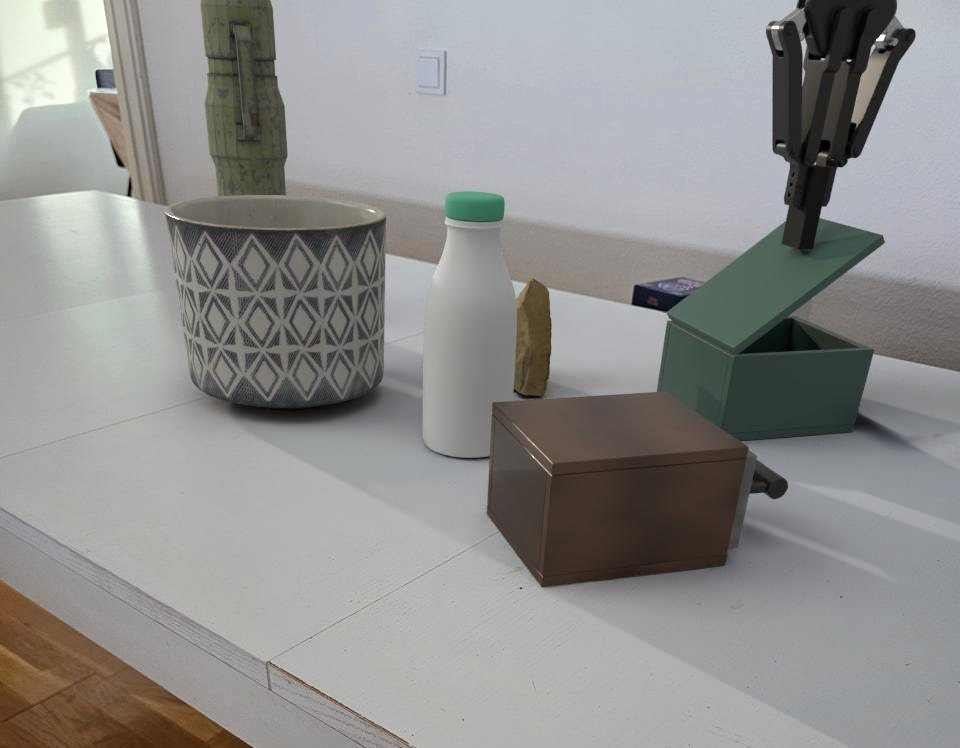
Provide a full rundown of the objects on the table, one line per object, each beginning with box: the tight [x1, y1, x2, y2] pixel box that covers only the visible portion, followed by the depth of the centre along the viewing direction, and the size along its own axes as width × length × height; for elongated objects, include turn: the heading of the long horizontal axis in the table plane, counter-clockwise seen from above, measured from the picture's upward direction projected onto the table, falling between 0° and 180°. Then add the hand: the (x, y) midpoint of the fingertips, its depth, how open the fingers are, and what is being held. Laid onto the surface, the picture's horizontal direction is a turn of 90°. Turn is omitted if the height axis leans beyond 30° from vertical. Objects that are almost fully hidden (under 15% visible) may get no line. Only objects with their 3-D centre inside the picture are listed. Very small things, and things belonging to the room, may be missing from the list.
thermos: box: [199, 0, 289, 197], centre depth 108 cm, size 9×12×35 cm
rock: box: [514, 278, 553, 397], centre depth 95 cm, size 11×9×10 cm
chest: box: [656, 315, 875, 442], centre depth 90 cm, size 15×13×8 cm
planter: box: [164, 194, 387, 410], centre depth 87 cm, size 19×19×16 cm
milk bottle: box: [422, 190, 517, 459], centre depth 76 cm, size 8×8×20 cm
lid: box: [666, 217, 886, 355], centre depth 85 cm, size 15×13×1 cm
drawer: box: [728, 449, 789, 550], centre depth 66 cm, size 17×10×7 cm, turn 108°
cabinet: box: [486, 391, 750, 588], centre depth 65 cm, size 14×12×9 cm
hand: (796, 246), depth 84 cm, fingers closed
